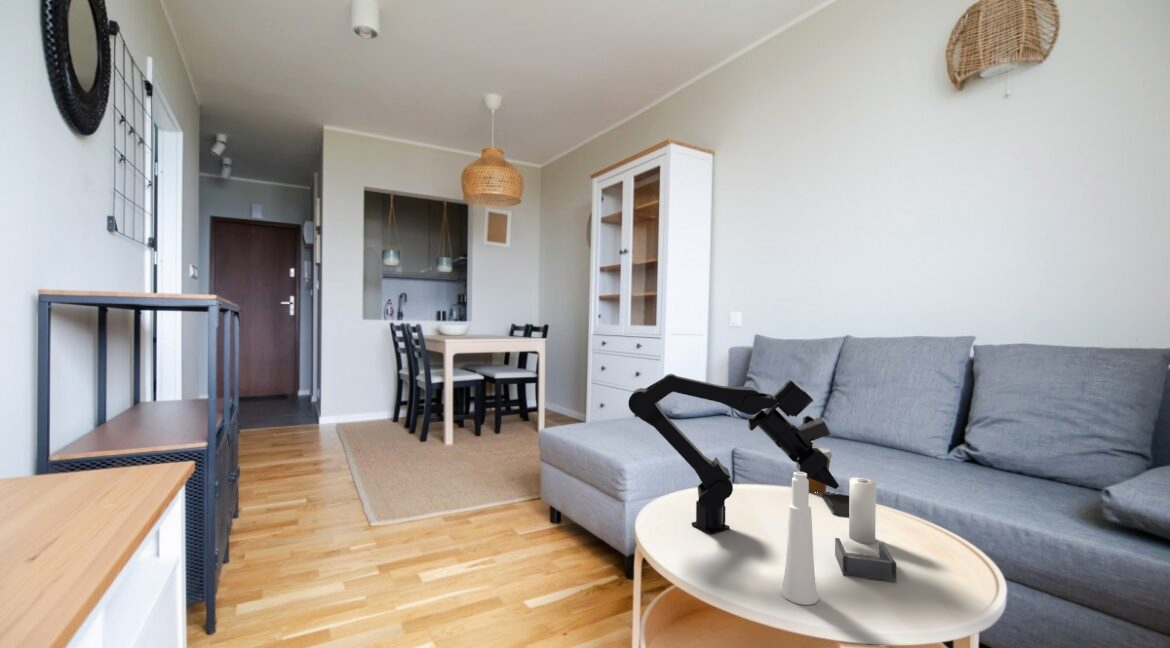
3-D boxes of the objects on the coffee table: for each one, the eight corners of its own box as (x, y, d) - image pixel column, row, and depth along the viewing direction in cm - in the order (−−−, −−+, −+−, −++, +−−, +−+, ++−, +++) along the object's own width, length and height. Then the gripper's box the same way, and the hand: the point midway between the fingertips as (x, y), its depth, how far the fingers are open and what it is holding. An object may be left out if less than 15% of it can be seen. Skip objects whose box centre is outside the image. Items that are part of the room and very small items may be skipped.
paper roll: (866, 545, 111) (867, 485, 110) (844, 537, 115) (844, 478, 115) (880, 540, 113) (880, 481, 113) (857, 532, 118) (857, 475, 118)
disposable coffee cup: (833, 488, 148) (834, 447, 148) (829, 498, 140) (830, 454, 140) (799, 482, 153) (799, 443, 153) (793, 491, 145) (793, 450, 145)
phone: (851, 495, 140) (867, 515, 126) (851, 499, 140) (867, 520, 126) (820, 493, 142) (832, 512, 128) (820, 497, 142) (832, 517, 128)
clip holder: (896, 582, 95) (896, 563, 95) (843, 575, 98) (843, 556, 98) (883, 560, 104) (883, 543, 104) (834, 554, 106) (835, 537, 106)
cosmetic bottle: (774, 591, 92) (774, 470, 92) (798, 584, 94) (799, 466, 94) (800, 608, 86) (801, 480, 86) (825, 600, 89) (826, 475, 89)
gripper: (817, 414, 107) (874, 469, 105) (796, 400, 125) (844, 446, 123) (778, 449, 108) (833, 504, 107) (763, 431, 127) (810, 477, 125)
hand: (831, 480), depth 115 cm, fingers open, 9 cm apart
